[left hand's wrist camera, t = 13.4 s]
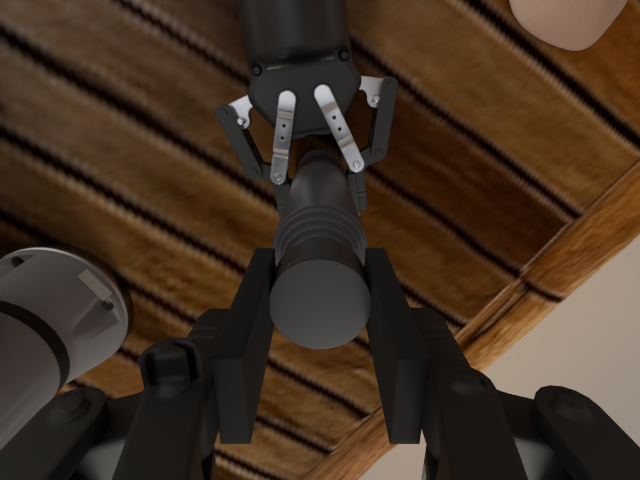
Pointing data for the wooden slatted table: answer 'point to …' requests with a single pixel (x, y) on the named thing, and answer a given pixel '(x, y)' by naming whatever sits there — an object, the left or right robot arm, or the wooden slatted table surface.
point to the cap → (320, 294)
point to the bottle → (320, 207)
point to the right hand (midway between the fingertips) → (325, 218)
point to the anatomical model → (567, 20)
